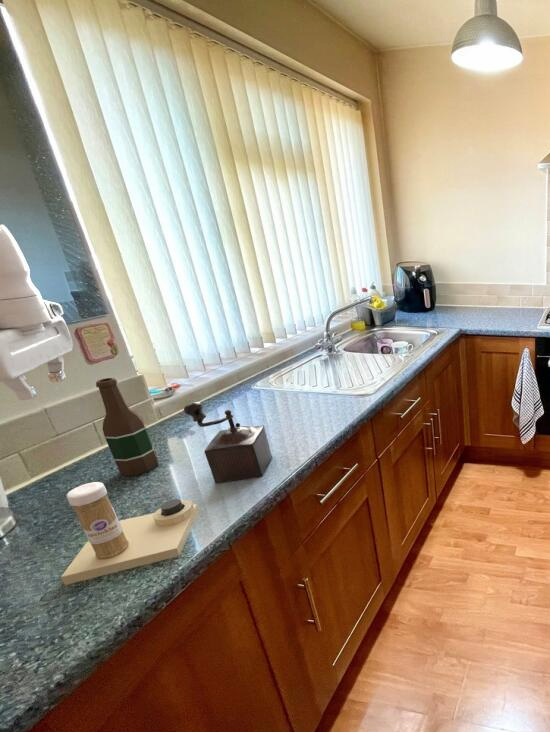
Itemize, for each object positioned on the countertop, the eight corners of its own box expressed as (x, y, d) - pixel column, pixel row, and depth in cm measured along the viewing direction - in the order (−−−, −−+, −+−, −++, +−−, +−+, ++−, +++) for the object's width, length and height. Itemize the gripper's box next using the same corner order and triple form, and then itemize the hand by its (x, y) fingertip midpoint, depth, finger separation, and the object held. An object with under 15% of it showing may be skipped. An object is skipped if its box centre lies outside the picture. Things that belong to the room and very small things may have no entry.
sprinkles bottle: (102, 563, 70) (70, 500, 66) (92, 553, 73) (61, 491, 68) (134, 546, 74) (107, 485, 69) (124, 538, 76) (97, 478, 71)
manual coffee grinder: (274, 454, 108) (258, 392, 101) (263, 477, 98) (244, 410, 91) (207, 463, 104) (185, 399, 97) (188, 488, 94) (163, 419, 87)
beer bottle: (130, 462, 104) (95, 376, 95) (166, 457, 106) (134, 372, 98) (113, 479, 97) (73, 387, 89) (151, 473, 99) (116, 383, 91)
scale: (64, 585, 68) (56, 569, 67) (103, 532, 80) (96, 518, 79) (180, 556, 74) (174, 541, 73) (199, 510, 86) (195, 497, 85)
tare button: (160, 518, 80) (158, 510, 79) (166, 508, 82) (163, 501, 82) (180, 513, 81) (177, 506, 80) (185, 504, 83) (182, 497, 83)
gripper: (-7, 325, 61) (33, 407, 66) (66, 303, 79) (93, 370, 84) (-67, 329, 59) (-21, 414, 64) (22, 306, 76) (53, 374, 82)
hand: (44, 389), depth 74 cm, fingers open, 8 cm apart
